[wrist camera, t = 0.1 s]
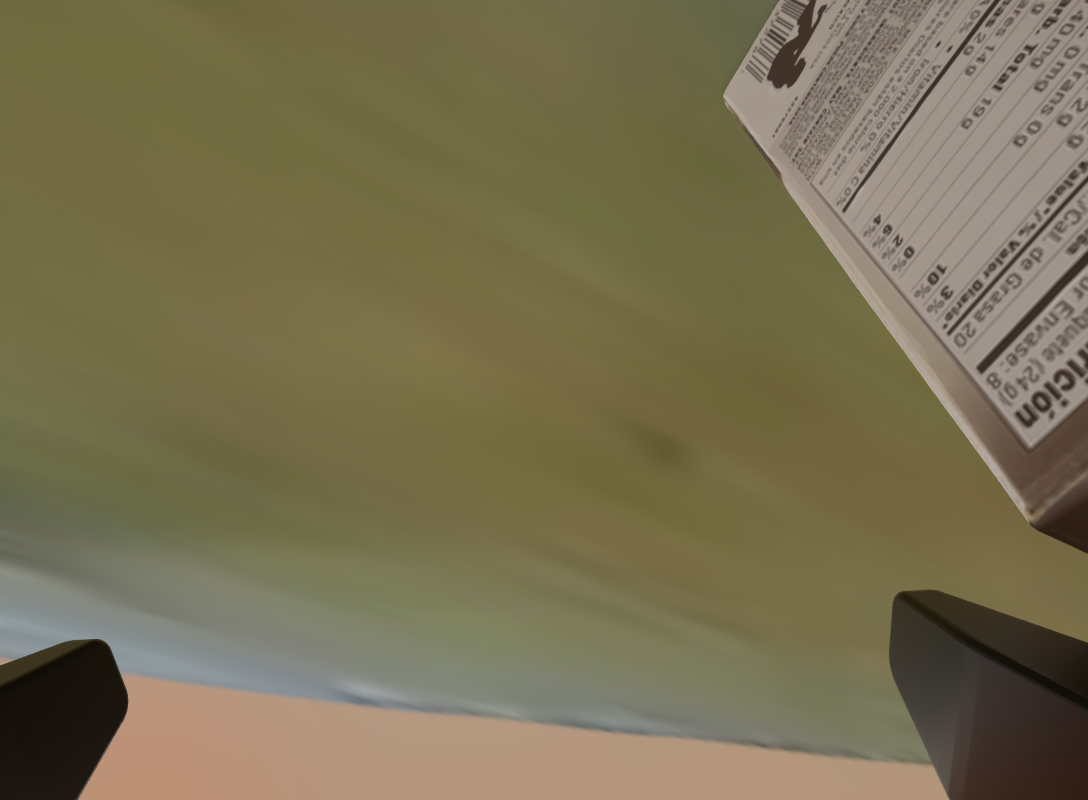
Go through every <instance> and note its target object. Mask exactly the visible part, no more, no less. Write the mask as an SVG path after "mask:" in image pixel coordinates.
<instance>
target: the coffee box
mask: <svg viewBox="0 0 1088 800" xmlns="http://www.w3.org/2000/svg"><path fill="white" fill-rule="evenodd" d="M723 97H724V102H725V104H726V106H727V108H728V109H729V111H730V112H731V113H732V114H733V115H734V117H735V118H736V119H737V121H738V122H739V123H740V125H741V126H742V128H743V129H744V130H745V132H746V133H747V134H748V136H749V137H750V138H751V140H752V141H753V143H754V144H755V146H756V147H757V149H758V150H759V151H760V152H761V154H762V155H763V157H764V158H765V160H766V161H767V162H768V163H769V165H770V166H771V168H772V169H773V170H774V172H775V173H776V175H777V176H778V178H779V179H780V180H781V182H782V183H783V184H784V185H785V187H786V189H787V190H788V192H789V193H790V195H791V196H792V197H793V199H794V200H795V202H796V203H797V204H798V206H799V207H800V209H801V210H802V211H803V213H804V214H805V216H806V217H807V218H808V220H809V221H810V223H811V224H812V225H813V227H814V228H815V229H816V231H817V232H818V234H819V235H820V236H821V238H822V239H823V241H824V242H825V243H826V245H827V246H828V248H829V249H830V251H831V252H832V253H833V255H834V256H835V257H836V259H837V260H838V261H839V263H840V264H841V265H842V267H843V268H844V270H845V271H846V273H847V274H848V275H849V277H850V278H851V280H852V281H853V283H854V284H855V285H856V287H857V288H858V289H859V291H860V292H861V294H862V295H863V296H864V298H865V299H866V300H867V302H868V303H869V304H870V306H871V307H872V309H873V310H874V311H875V313H876V314H877V315H878V317H879V318H880V319H881V321H882V322H883V323H884V325H885V326H886V327H887V329H888V330H889V332H890V333H891V334H892V336H893V337H894V338H895V340H896V341H897V342H898V344H899V345H900V346H901V348H902V349H903V350H904V352H905V353H906V355H907V356H908V357H909V359H910V360H911V361H912V363H913V364H914V366H915V367H916V368H917V370H918V371H919V372H920V374H921V375H922V377H923V378H924V379H925V381H926V382H927V383H928V385H929V386H930V388H931V389H932V390H933V392H934V393H935V394H936V396H937V397H938V399H939V400H940V401H941V403H942V404H943V405H944V407H945V408H946V410H947V411H948V412H949V414H950V415H951V416H952V418H953V419H954V420H955V422H956V423H957V424H958V426H959V427H960V429H961V430H962V431H963V433H964V434H965V435H966V437H967V438H968V439H969V441H970V442H971V443H972V445H973V446H974V448H975V449H976V450H977V452H978V453H979V454H980V456H981V457H982V458H983V460H984V461H985V462H986V464H987V465H988V467H989V468H990V469H991V471H992V472H993V473H994V475H995V476H996V477H997V479H998V480H999V482H1000V483H1001V484H1002V486H1003V487H1004V489H1005V490H1006V491H1007V493H1008V494H1009V496H1010V497H1011V499H1012V500H1013V501H1014V503H1015V504H1016V506H1017V507H1018V508H1019V510H1020V511H1021V513H1022V514H1023V516H1024V517H1025V518H1026V520H1027V521H1028V523H1029V524H1030V525H1031V526H1032V527H1033V528H1035V529H1036V530H1038V531H1039V532H1042V533H1044V534H1046V535H1048V536H1051V537H1053V538H1055V539H1057V540H1059V541H1062V542H1064V543H1066V544H1068V545H1071V546H1073V547H1075V548H1077V549H1079V550H1081V551H1083V552H1085V553H1087V554H1088V0H779V2H778V4H777V5H776V7H775V8H774V10H773V12H772V13H771V15H770V17H769V18H768V20H767V22H766V23H765V25H764V27H763V28H762V30H761V32H760V33H759V35H758V37H757V38H756V40H755V42H754V43H753V45H752V47H751V48H750V50H749V52H748V53H747V55H746V57H745V58H744V60H743V62H742V63H741V65H740V67H739V68H738V70H737V72H736V73H735V75H734V76H733V78H732V80H731V81H730V83H729V85H728V86H727V88H726V90H725V92H724V95H723Z"/></svg>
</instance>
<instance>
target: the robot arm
mask: <svg viewBox="0 0 1088 800" xmlns="http://www.w3.org/2000/svg"><path fill="white" fill-rule="evenodd" d="M889 660H890V667H891V671H892V675H893V678H894V680H895V683H896V685H897V687H898V690H899V692H900V694H901V696H902V698H903V701H904V703H905V705H906V707H907V709H908V712H909V714H910V716H911V718H912V720H913V723H914V725H915V727H916V729H917V731H918V734H919V736H920V738H921V740H922V742H923V745H924V747H925V749H926V751H927V753H928V756H929V758H930V760H931V762H932V764H933V767H934V769H935V771H936V773H937V775H938V777H939V779H940V782H941V784H942V786H943V788H944V790H945V792H946V794H947V796H948V798H949V800H1088V643H1087V642H1084V641H1081V640H1079V639H1076V638H1073V637H1070V636H1067V635H1064V634H1061V633H1058V632H1056V631H1053V630H1050V629H1047V628H1044V627H1041V626H1038V625H1035V624H1033V623H1030V622H1027V621H1024V620H1021V619H1018V618H1015V617H1012V616H1010V615H1007V614H1004V613H1001V612H998V611H995V610H992V609H989V608H987V607H984V606H981V605H978V604H975V603H972V602H969V601H966V600H963V599H961V598H958V597H955V596H952V595H949V594H946V593H943V592H940V591H937V590H916V591H902V592H899V593H898V594H897V595H896V596H895V598H894V601H893V607H892V621H891V634H890V647H889ZM127 708H128V693H127V690H126V687H125V685H124V682H123V679H122V677H121V674H120V672H119V669H118V666H117V664H116V661H115V659H114V656H113V653H112V651H111V649H110V647H109V645H108V644H107V643H106V642H105V641H102V640H100V639H88V640H72V641H67V642H63V643H61V644H58V645H55V646H52V647H50V648H47V649H44V650H41V651H39V652H36V653H33V654H31V655H28V656H25V657H22V658H20V659H17V660H14V661H11V662H9V663H6V664H3V665H0V800H78V799H79V797H80V795H81V793H82V792H83V790H84V788H85V787H86V785H87V783H88V781H89V780H90V778H91V776H92V774H93V773H94V771H95V769H96V767H97V766H98V764H99V762H100V761H101V759H102V757H103V755H104V754H105V752H106V750H107V748H108V747H109V745H110V743H111V741H112V740H113V738H114V736H115V734H116V733H117V731H118V729H119V728H120V726H121V724H122V722H123V720H124V718H125V715H126V712H127Z"/></svg>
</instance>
